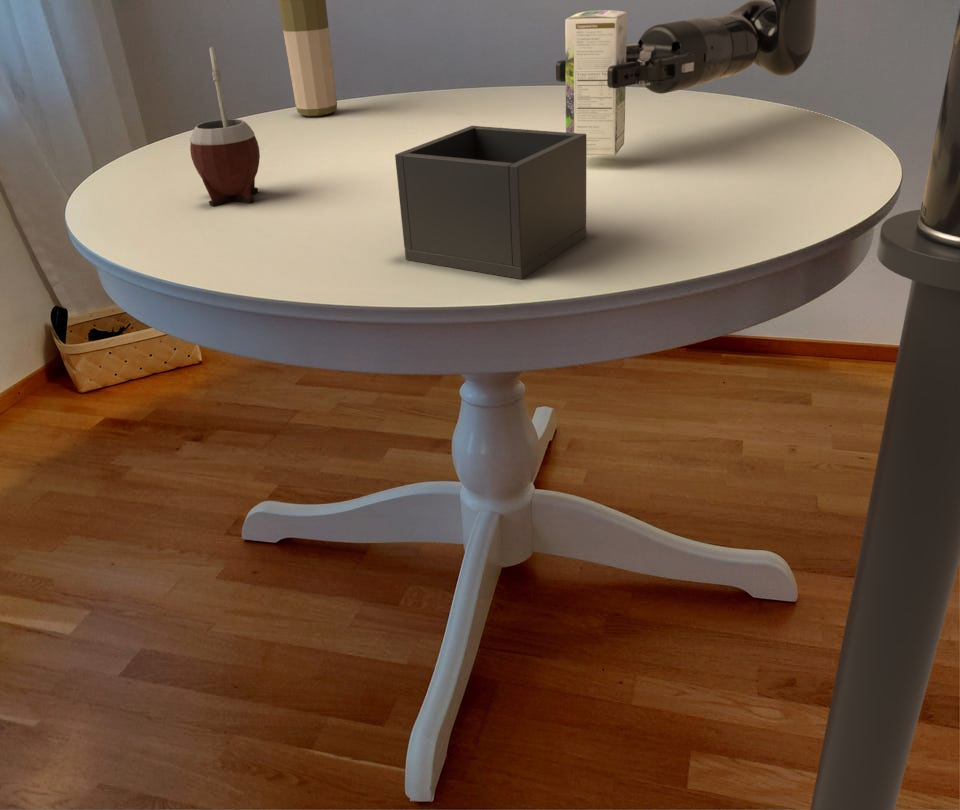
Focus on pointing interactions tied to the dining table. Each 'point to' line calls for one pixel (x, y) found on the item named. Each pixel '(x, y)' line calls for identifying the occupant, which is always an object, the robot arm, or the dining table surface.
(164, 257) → the dining table surface
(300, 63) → the bottle
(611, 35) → the syrup box
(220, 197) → the mate gourd
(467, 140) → the waste bin
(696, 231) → the dining table surface
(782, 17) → the robot arm
